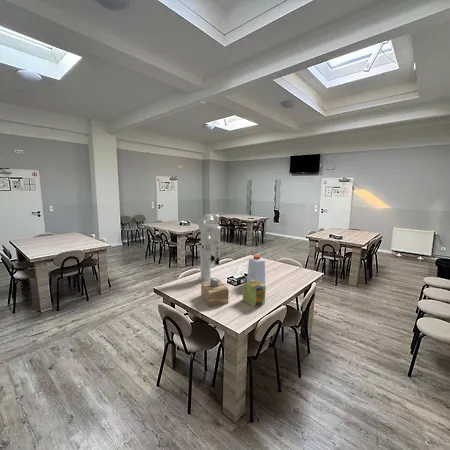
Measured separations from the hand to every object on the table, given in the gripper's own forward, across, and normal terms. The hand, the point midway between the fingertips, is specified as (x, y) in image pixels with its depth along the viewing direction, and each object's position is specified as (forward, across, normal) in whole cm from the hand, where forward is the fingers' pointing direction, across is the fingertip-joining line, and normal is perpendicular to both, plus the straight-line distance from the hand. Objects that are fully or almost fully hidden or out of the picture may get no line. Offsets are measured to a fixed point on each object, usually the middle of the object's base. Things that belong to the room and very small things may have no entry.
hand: (214, 262), depth 190 cm
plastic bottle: (+31, +13, -47) cm, 58 cm away
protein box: (+31, -16, -28) cm, 44 cm away
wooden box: (+31, -1, 0) cm, 31 cm away
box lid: (+20, -1, 0) cm, 20 cm away
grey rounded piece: (+19, 0, 0) cm, 19 cm away
